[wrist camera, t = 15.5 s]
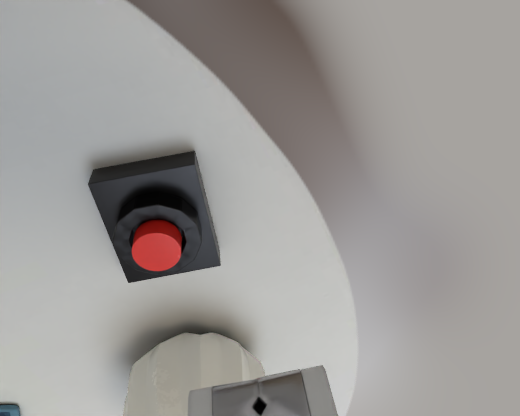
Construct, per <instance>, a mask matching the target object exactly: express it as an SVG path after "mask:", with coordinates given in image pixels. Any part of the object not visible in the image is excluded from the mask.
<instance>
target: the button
mask: <svg viewBox="0 0 520 416" xmlns="http://www.w3.org/2000/svg"><path fill="white" fill-rule="evenodd" d="M181 247H182V236H181V233H180V231H179V230H178V228H177V227H176V226H175V225H173V224H172V223H170V222H168V221H165V220H150V221H147V222H145V223H143V224H141V225H140V226H139V227H138V228H137V230H136V231H135V234H134V239H133V245H132V256H133V259H134V260H135V262H136V263H137V264H138V265H139V266H141V267H143V268H145V269H147V270H151V271H163V270H167V269H169V268H171V267H173V266H174V265H176V263H177V262H178V261H179V259H180V257H181Z"/></svg>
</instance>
